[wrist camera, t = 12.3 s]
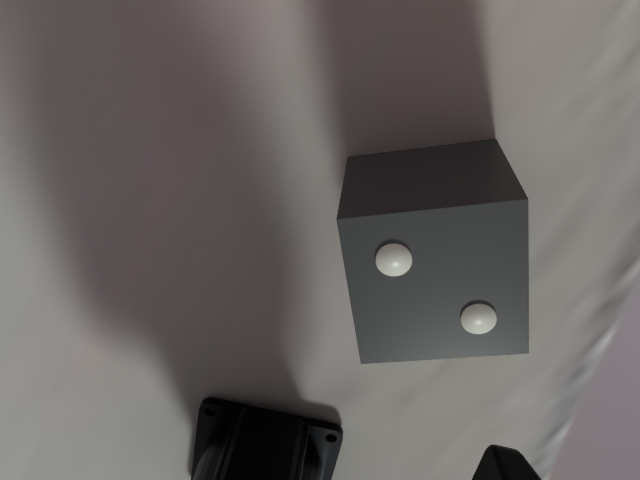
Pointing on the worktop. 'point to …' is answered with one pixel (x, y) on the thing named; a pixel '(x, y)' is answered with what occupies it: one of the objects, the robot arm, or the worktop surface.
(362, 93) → the worktop surface
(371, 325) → the die
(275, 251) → the worktop surface
